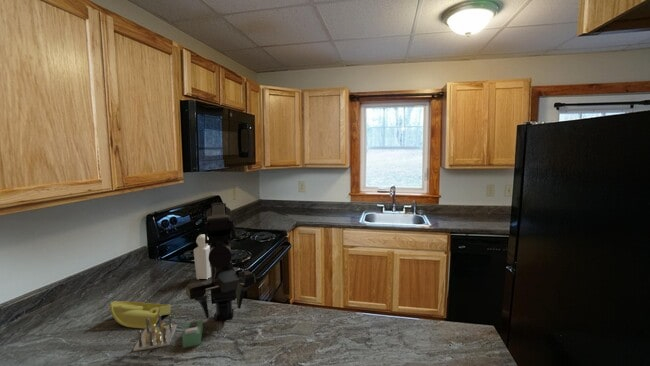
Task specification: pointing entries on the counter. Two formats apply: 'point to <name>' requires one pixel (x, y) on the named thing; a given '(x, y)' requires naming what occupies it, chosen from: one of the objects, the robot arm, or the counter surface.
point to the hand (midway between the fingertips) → (223, 313)
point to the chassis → (155, 335)
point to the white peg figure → (202, 258)
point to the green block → (192, 333)
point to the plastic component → (137, 313)
